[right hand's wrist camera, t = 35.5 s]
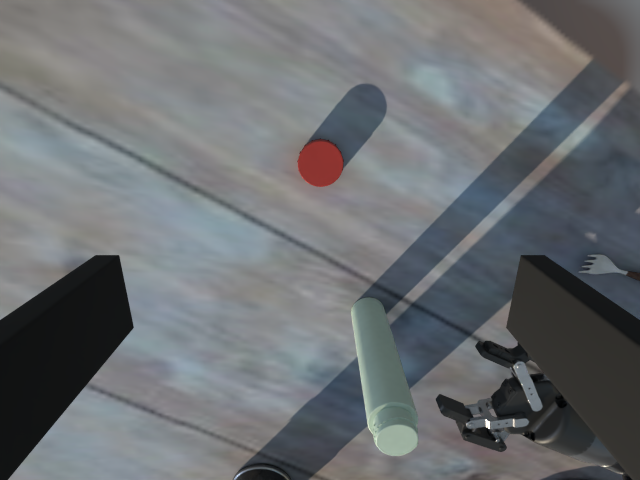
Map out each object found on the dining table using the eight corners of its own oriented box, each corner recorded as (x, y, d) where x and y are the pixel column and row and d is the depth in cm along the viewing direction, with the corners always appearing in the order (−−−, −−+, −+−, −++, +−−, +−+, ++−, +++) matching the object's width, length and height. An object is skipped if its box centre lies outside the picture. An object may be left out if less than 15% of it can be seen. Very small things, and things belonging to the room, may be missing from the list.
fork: (682, 298, 46) (697, 306, 44) (566, 267, 45) (577, 274, 43) (694, 280, 45) (711, 287, 44) (577, 247, 44) (589, 253, 42)
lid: (346, 178, 41) (347, 182, 39) (303, 187, 42) (302, 191, 40) (338, 134, 40) (339, 136, 38) (293, 143, 40) (292, 145, 38)
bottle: (346, 319, 48) (361, 451, 30) (359, 292, 46) (384, 413, 28) (375, 330, 48) (408, 466, 30) (389, 303, 47) (433, 429, 29)
